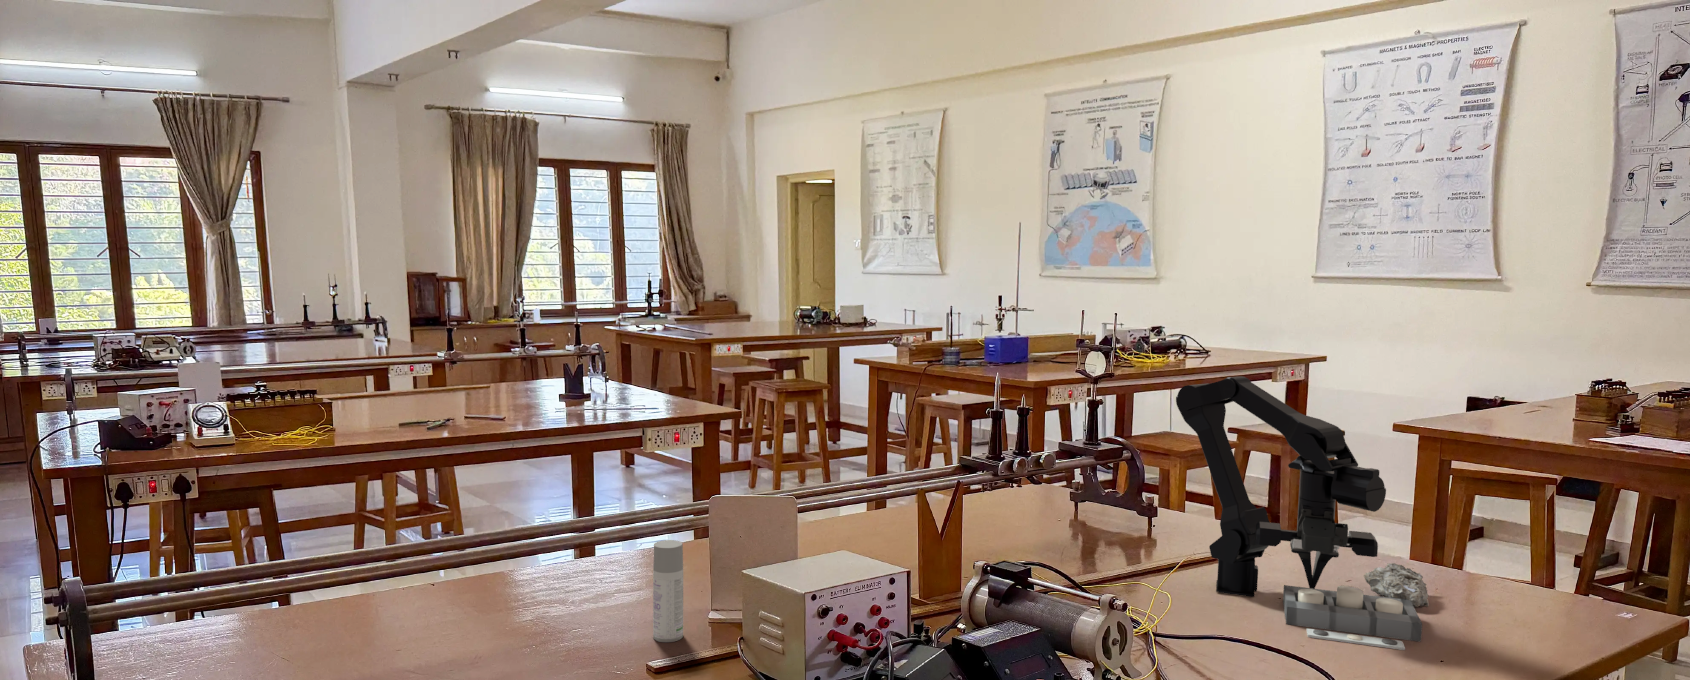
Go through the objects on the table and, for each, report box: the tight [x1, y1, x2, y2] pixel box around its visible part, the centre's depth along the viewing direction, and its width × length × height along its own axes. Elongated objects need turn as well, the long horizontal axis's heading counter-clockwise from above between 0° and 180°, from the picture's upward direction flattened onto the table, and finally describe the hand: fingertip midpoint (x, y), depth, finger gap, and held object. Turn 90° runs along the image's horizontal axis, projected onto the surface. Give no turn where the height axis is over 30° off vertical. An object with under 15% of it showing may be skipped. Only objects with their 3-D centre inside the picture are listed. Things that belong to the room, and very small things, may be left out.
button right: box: [1375, 598, 1403, 614], centre depth 173 cm, size 4×4×4 cm
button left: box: [1298, 589, 1324, 605], centre depth 177 cm, size 4×4×4 cm
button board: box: [1282, 584, 1423, 643], centre depth 175 cm, size 20×12×3 cm, turn 70°
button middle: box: [1336, 585, 1364, 609], centre depth 175 cm, size 4×4×4 cm
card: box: [1306, 628, 1406, 651], centre depth 166 cm, size 14×3×1 cm, turn 70°
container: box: [652, 539, 684, 643], centre depth 162 cm, size 5×5×15 cm
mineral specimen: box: [1363, 562, 1430, 608], centre depth 186 cm, size 6×11×12 cm
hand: (1311, 587), depth 177 cm, fingers closed
